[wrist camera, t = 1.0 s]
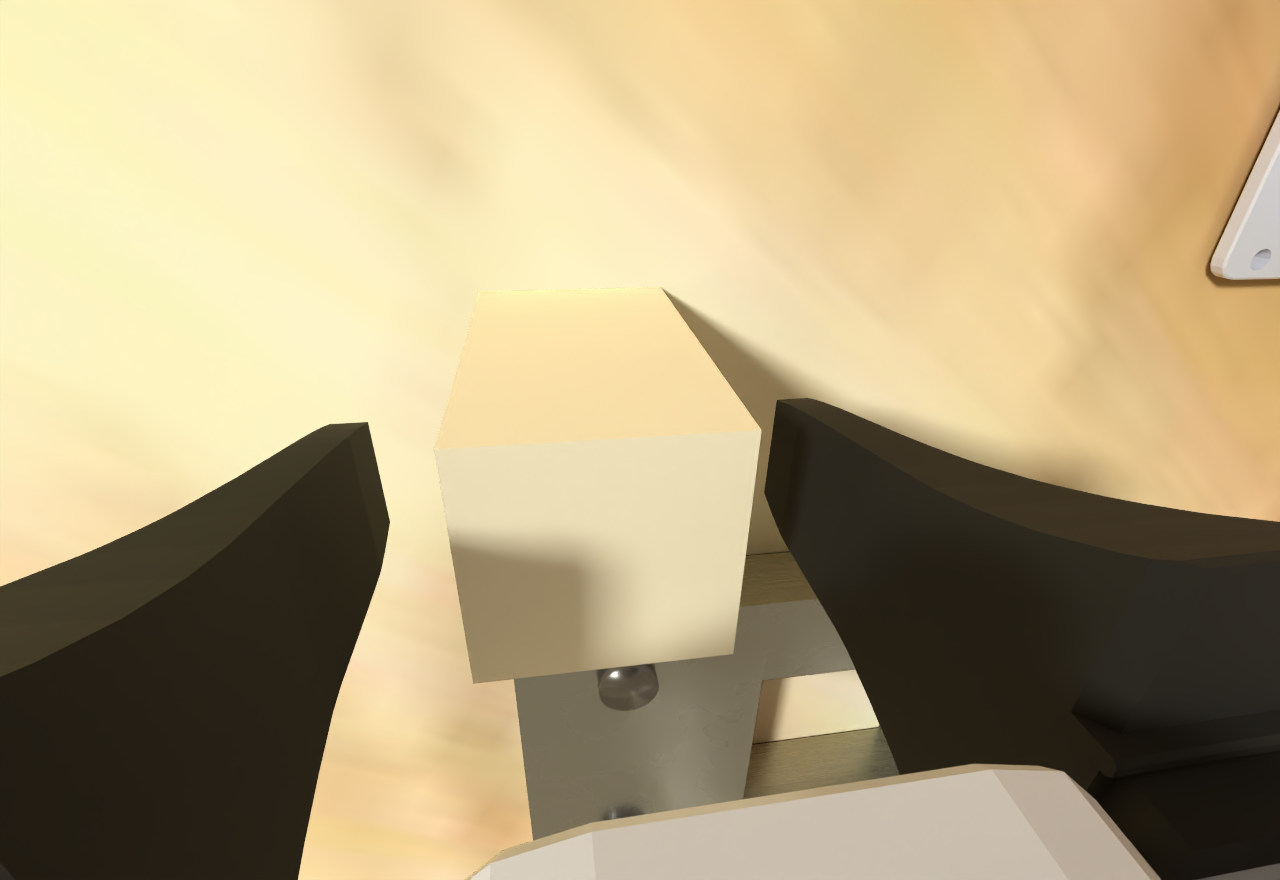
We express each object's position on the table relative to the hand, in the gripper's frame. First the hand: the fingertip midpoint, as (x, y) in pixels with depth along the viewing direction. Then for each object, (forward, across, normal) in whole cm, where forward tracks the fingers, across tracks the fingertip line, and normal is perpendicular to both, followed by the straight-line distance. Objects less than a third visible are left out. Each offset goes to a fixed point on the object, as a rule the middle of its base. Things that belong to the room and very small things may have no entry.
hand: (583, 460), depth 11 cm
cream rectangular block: (+4, 0, 0) cm, 4 cm away
